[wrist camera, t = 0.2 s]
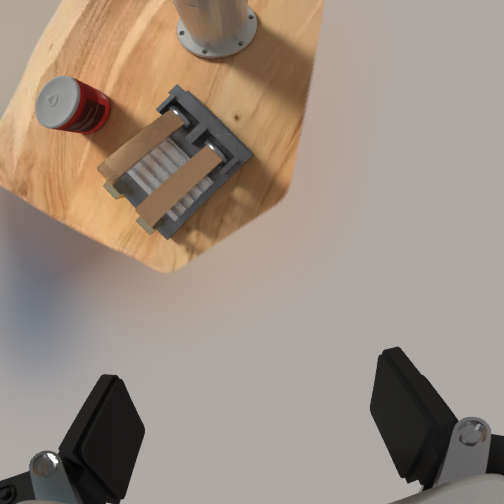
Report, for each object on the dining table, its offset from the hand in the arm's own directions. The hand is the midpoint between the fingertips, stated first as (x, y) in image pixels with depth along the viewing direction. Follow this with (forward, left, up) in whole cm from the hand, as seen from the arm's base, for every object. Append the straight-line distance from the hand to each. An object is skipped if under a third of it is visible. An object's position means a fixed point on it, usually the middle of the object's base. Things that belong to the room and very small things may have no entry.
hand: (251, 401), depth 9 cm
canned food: (-32, -5, -37) cm, 49 cm away
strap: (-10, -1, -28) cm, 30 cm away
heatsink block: (-14, -1, -36) cm, 39 cm away
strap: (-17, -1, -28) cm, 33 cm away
